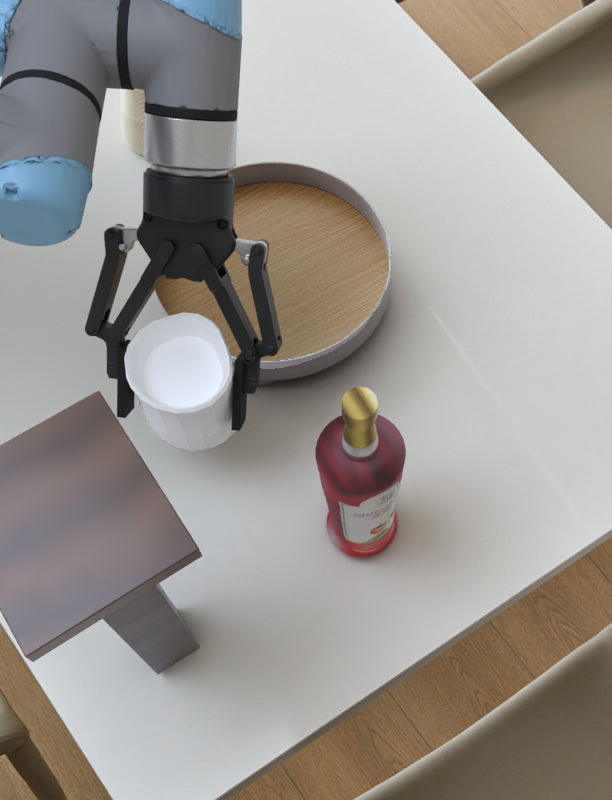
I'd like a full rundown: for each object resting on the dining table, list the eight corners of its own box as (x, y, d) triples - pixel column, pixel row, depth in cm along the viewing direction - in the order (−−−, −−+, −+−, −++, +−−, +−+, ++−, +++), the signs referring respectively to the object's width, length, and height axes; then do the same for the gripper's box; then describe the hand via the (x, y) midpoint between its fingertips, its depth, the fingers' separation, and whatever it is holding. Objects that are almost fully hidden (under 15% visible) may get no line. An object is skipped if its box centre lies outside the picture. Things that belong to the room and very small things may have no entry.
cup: (188, 344, 100) (171, 292, 91) (269, 398, 98) (259, 349, 89) (123, 416, 96) (99, 368, 88) (205, 473, 94) (189, 430, 85)
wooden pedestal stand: (78, 618, 95) (-69, 483, 63) (186, 551, 98) (98, 389, 66) (146, 738, 90) (25, 657, 59) (257, 664, 93) (199, 548, 62)
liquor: (375, 479, 101) (377, 342, 76) (413, 540, 99) (428, 419, 73) (311, 514, 100) (291, 386, 74) (348, 577, 97) (340, 467, 72)
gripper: (327, 177, 88) (309, 418, 96) (73, 150, 89) (75, 392, 96) (316, 189, 81) (297, 448, 88) (40, 159, 81) (44, 419, 89)
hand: (182, 418), depth 92 cm, fingers closed on cup, 10 cm apart
